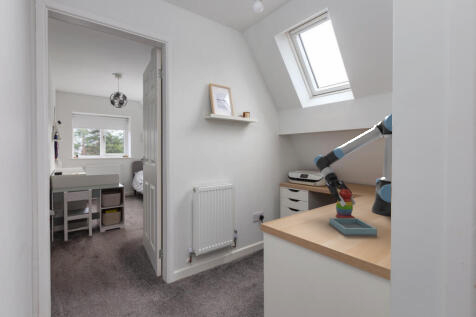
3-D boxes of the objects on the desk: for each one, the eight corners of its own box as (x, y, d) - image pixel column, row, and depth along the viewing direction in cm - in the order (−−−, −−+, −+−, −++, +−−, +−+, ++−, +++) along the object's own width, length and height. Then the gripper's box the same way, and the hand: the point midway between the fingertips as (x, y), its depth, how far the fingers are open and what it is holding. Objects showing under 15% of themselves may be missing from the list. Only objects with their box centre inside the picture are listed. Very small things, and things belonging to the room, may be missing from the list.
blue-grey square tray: (357, 224, 129) (357, 218, 129) (376, 236, 112) (377, 229, 112) (329, 224, 129) (329, 218, 129) (344, 235, 112) (345, 228, 112)
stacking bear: (357, 220, 136) (358, 190, 136) (339, 220, 137) (341, 190, 136) (348, 215, 147) (349, 187, 146) (332, 214, 147) (333, 187, 147)
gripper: (337, 178, 159) (357, 206, 146) (314, 179, 150) (333, 209, 136) (344, 171, 154) (365, 200, 141) (320, 172, 145) (341, 203, 131)
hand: (349, 204), depth 138 cm, fingers closed on stacking bear, 8 cm apart
